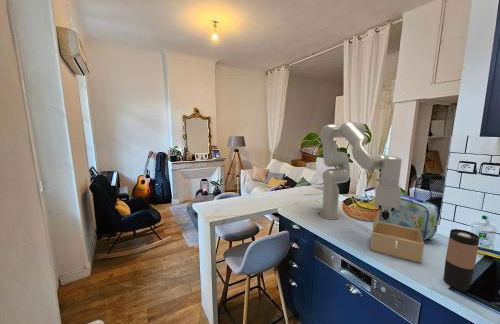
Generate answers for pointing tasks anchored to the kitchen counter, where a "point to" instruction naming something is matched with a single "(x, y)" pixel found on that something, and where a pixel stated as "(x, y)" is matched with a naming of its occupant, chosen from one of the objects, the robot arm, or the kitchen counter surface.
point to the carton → (397, 241)
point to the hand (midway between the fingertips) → (385, 219)
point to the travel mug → (460, 258)
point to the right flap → (418, 228)
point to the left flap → (377, 220)
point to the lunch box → (423, 212)
